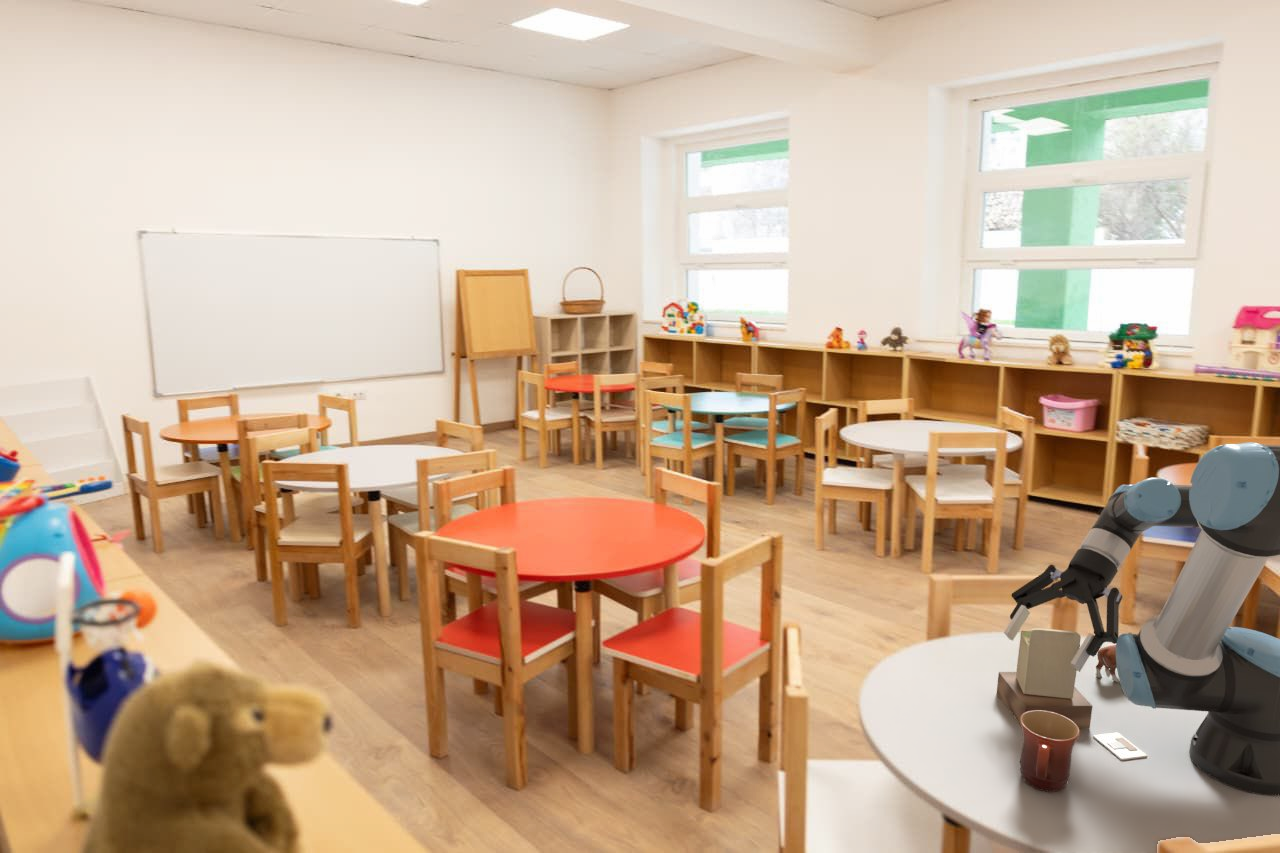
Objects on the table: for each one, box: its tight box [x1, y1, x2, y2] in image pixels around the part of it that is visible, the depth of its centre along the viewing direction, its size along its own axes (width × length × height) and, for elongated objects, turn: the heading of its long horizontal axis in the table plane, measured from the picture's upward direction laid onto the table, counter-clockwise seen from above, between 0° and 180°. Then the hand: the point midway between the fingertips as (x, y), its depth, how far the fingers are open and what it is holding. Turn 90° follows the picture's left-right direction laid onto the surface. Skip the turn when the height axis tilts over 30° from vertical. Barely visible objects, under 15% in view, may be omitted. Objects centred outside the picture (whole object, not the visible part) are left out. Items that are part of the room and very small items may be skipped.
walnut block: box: [996, 671, 1093, 729], centre depth 159 cm, size 12×12×5 cm
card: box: [1092, 731, 1148, 761], centre depth 148 cm, size 7×5×1 cm
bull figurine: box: [1095, 644, 1120, 683], centre depth 171 cm, size 4×13×8 cm, turn 103°
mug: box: [1019, 710, 1081, 793], centre depth 137 cm, size 12×9×10 cm
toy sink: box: [1015, 627, 1082, 699], centre depth 157 cm, size 9×7×13 cm
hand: (1040, 651), depth 156 cm, fingers open, 13 cm apart
